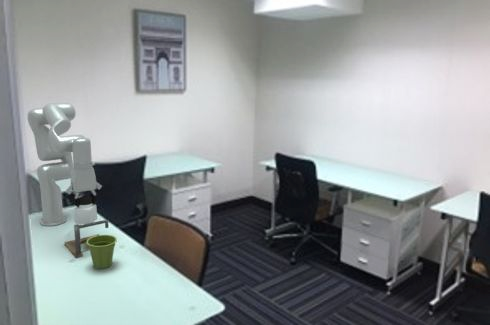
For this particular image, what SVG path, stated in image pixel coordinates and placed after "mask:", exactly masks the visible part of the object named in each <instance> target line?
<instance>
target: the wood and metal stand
mask: <svg viewBox="0 0 490 325" xmlns="http://www.w3.org/2000/svg"><path fill="white" fill-rule="evenodd" d="M103 224H104V226H105V227H104V228H106V229H108V228H109V220H107V219H103V220H99V221H98V220H97V221H94V222H93V223H88V224H76V223H75V224H74V225H73V231H74V233H73V234H74V239H72V240H69V241H64V243H63V244H64V247H65V248H66V249H67V250H68V251H69V252H70V253H71V255H72V256H73V257H74V258H75V259H77V258H81V257H83V256H84V252H87V251H90V249H89V246H88V244H87V243H86V242H87V240H88V239H89V238H91V237H94V236H98V235H100V234H99V233H98V234H94V235H90V236H85V237H82V238H81V230H80V229H83V228H88V227H93V226H98V225H103Z"/></svg>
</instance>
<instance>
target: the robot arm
mask: <svg viewBox="0 0 490 325" xmlns="http://www.w3.org/2000/svg"><path fill="white" fill-rule="evenodd" d="M75 117H76V109H75V107H74V106H73V105H72V104H71V103H69V102H55V103H54V102H53V103H48V104H45V105H44V106H43V107H37V108H32V109H30V110H29V111H28V112H27V121H28V125H29V127H30V129H31V131H32V134H33V137H34V142H35V148H36V149H35V150H36V155H37V157H38V159H39V161H42V162H49V163H44V164H41V165H40V166H38V167H37V169H36V174H37V179H38V182H39V187H40V188H39V189H40V199H41V209H42V218H41V219H40V221H39V224H40V225H41V226H46V227H51V226H52V227H53V226H54V227H55V226H58V225H61V224H64V223H66V222H67V217H66V216H64V214H63V213H64V212H63V201H62V198H63V197H62V189H61V187H60V186H59V185H58V184H57V183H56V182H58V181H64V180H70V184H69V186H68V187H67V189H66V190H65V193H67V194H68V195H69V196H71V197H73V201H74V206H75V207H79V198H78V197H79V194H80V193H81V192H82V193H83V192H89V191H90V194H89V195H90V196H92V204H94V205H96V203H95V202H96V196H97V193H99V192H100V190H101V188H102V187H103V185H102V184H100V182H97V178H96V173H95V169H94V167H93V166H95V165H96V162H95V161H93V160H92V159H93V158H92V147H91V146H92V143H91V140H90V139H89V138H88V137H86V136H85V135H84V134H83V135H82V134H73V135H64V134H66V133H67V132H68V131H69V130H70V129H71V127H72V123H71V122H72V121H73V120H74V119H75ZM48 125H49V126H50V128H49V126H48ZM62 135H63V136H62ZM57 160H58V161H57ZM59 160H60V161H59ZM50 161H57V162H51V163H50ZM72 191H73V192H72Z"/></svg>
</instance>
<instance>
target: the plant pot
mask: <svg viewBox="0 0 490 325" xmlns="http://www.w3.org/2000/svg"><path fill="white" fill-rule="evenodd" d="M97 235H98V234H97ZM117 240H118V239H117V237H116V236H114V235H112V234H99V235H98V236H94V237H91V238H89V239H88V240H87V242H86V243H87V244H88V246H89V249H90V250H89V252H90V256H91V260H92V265H93V268H95V269H99V270H100V269H107V268H109V267H111V266H112V264H113V258H114V249H115V246H116V242H117Z"/></svg>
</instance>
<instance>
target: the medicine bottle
mask: <svg viewBox="0 0 490 325" xmlns="http://www.w3.org/2000/svg"><path fill="white" fill-rule="evenodd" d="M90 195H91V194H83V195H80V196H79V195H78V198H79V207H77V206H75V208H73V212H74V223H75V225H76V224H78V225H83V224H88V223H93V222H96V220H98V212H97V211H98V210H97V204H92V196H90Z"/></svg>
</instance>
